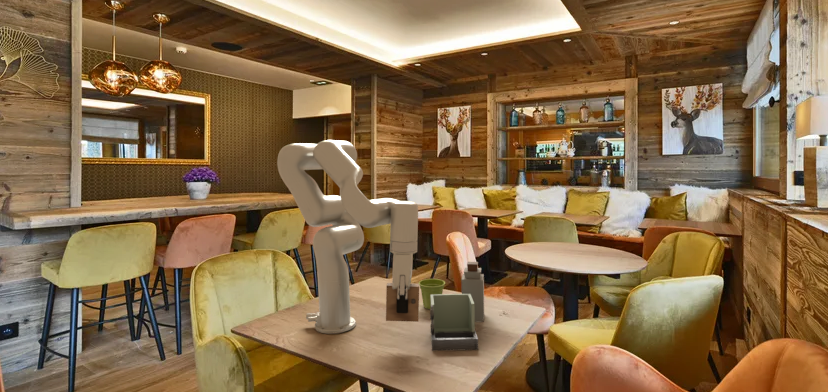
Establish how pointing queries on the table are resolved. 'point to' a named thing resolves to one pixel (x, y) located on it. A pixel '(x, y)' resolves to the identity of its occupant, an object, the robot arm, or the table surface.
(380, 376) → the table surface
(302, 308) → the table surface
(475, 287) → the perfume bottle
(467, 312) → the box
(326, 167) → the robot arm
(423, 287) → the plant pot
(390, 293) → the door
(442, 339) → the grey brown open box
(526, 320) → the table surface
